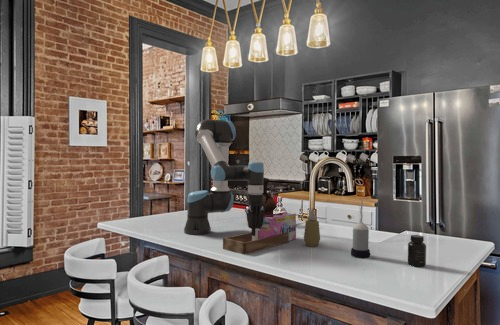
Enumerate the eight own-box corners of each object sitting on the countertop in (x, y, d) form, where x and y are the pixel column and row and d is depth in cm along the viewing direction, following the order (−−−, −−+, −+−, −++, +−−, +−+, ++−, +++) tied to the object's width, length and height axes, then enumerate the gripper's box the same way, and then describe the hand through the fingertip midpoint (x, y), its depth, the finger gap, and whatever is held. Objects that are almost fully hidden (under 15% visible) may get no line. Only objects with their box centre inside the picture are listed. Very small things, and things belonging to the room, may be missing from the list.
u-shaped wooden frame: (222, 248, 172) (223, 238, 172) (267, 237, 196) (267, 228, 196) (244, 254, 163) (244, 243, 162) (288, 242, 187) (288, 232, 187)
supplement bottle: (404, 262, 153) (404, 234, 153) (419, 262, 153) (420, 234, 153) (413, 267, 146) (413, 237, 146) (429, 267, 147) (429, 237, 146)
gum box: (285, 236, 201) (285, 211, 201) (297, 238, 196) (298, 213, 196) (258, 243, 183) (258, 216, 183) (271, 246, 178) (271, 218, 178)
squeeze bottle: (321, 244, 184) (321, 208, 183) (318, 248, 176) (319, 210, 176) (305, 242, 186) (305, 207, 186) (302, 246, 179) (302, 209, 178)
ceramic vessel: (262, 219, 255) (262, 176, 254) (282, 222, 243) (283, 177, 242) (241, 223, 239) (242, 177, 239) (261, 226, 227) (262, 178, 227)
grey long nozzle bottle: (373, 256, 163) (374, 200, 162) (364, 259, 157) (365, 201, 157) (356, 252, 169) (357, 198, 168) (347, 255, 163) (348, 199, 163)
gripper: (252, 195, 171) (251, 245, 171) (270, 193, 180) (269, 241, 180) (240, 194, 176) (240, 242, 176) (258, 192, 185) (258, 238, 185)
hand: (255, 242), depth 178 cm, fingers closed
